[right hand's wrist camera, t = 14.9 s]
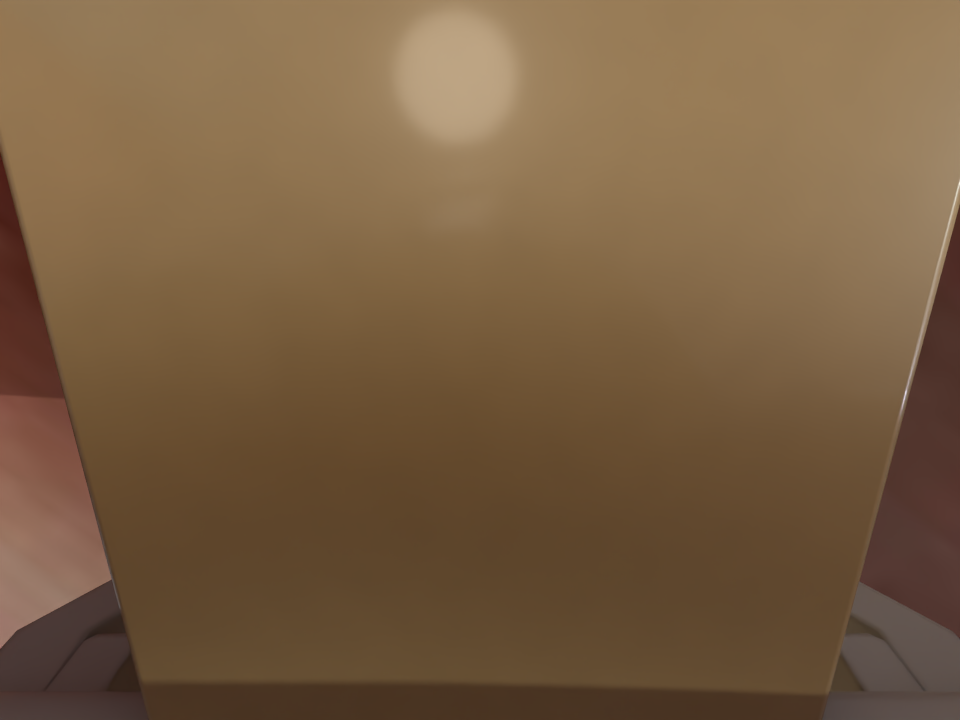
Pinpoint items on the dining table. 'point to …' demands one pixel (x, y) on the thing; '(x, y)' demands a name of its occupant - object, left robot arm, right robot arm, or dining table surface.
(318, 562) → the bar
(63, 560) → the dining table surface
